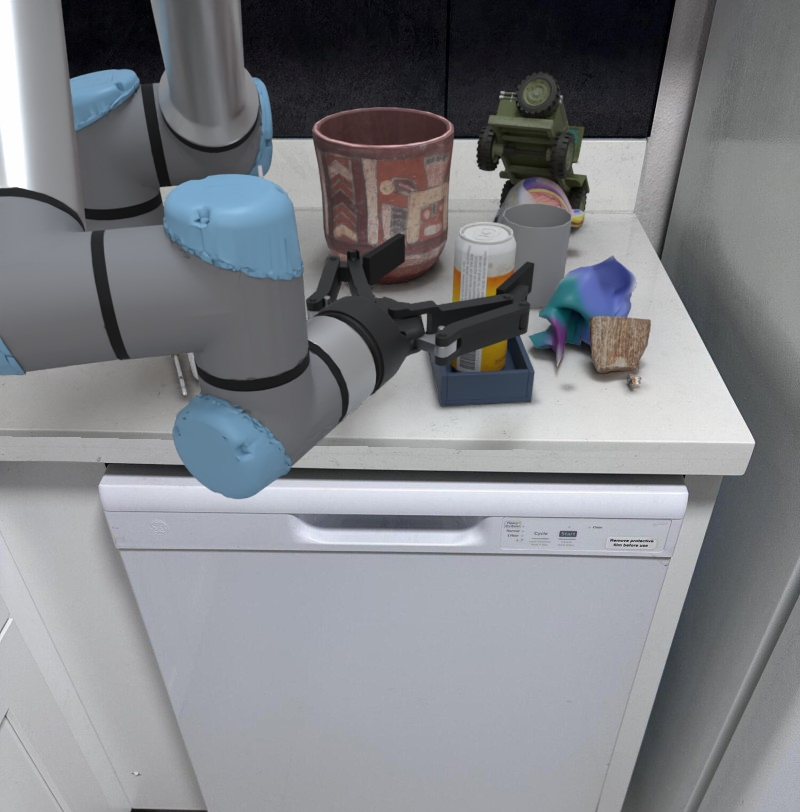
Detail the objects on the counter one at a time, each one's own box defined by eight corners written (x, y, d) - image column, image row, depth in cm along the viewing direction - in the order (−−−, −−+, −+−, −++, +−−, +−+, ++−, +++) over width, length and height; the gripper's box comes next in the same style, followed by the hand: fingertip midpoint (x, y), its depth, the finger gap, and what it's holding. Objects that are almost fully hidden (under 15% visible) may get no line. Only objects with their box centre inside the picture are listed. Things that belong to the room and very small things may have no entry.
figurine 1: (584, 400, 93) (552, 368, 86) (534, 341, 99) (500, 306, 92) (674, 322, 89) (648, 281, 82) (616, 265, 95) (587, 223, 88)
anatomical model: (511, 244, 118) (495, 176, 112) (593, 229, 112) (581, 157, 106) (493, 273, 111) (475, 203, 105) (580, 259, 106) (566, 184, 100)
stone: (633, 334, 90) (655, 312, 85) (637, 381, 89) (661, 362, 84) (574, 329, 88) (594, 307, 84) (578, 377, 87) (598, 358, 82)
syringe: (189, 392, 83) (180, 393, 83) (191, 399, 84) (182, 401, 83) (178, 348, 90) (169, 349, 90) (179, 355, 91) (171, 357, 90)
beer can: (510, 358, 88) (523, 224, 78) (497, 385, 84) (509, 246, 74) (458, 350, 90) (464, 217, 80) (442, 376, 86) (447, 239, 76)
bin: (440, 406, 82) (441, 376, 80) (427, 345, 92) (427, 316, 90) (531, 401, 83) (534, 371, 80) (508, 341, 93) (511, 312, 90)
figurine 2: (568, 393, 84) (569, 385, 83) (565, 385, 85) (565, 377, 85) (643, 387, 84) (644, 379, 83) (638, 379, 85) (639, 371, 85)
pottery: (304, 287, 104) (291, 140, 92) (342, 237, 117) (335, 103, 105) (435, 301, 101) (439, 150, 89) (460, 248, 113) (466, 110, 101)
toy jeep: (580, 237, 120) (599, 167, 120) (557, 152, 97) (581, 65, 96) (504, 227, 124) (522, 159, 124) (465, 143, 101) (487, 59, 100)
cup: (559, 310, 98) (570, 230, 92) (493, 305, 100) (500, 225, 93) (562, 282, 105) (573, 205, 98) (500, 277, 106) (507, 201, 99)
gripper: (222, 361, 69) (354, 272, 82) (480, 445, 59) (581, 328, 73) (208, 279, 64) (351, 198, 77) (487, 356, 54) (594, 248, 68)
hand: (463, 261), depth 75 cm, fingers open, 13 cm apart
